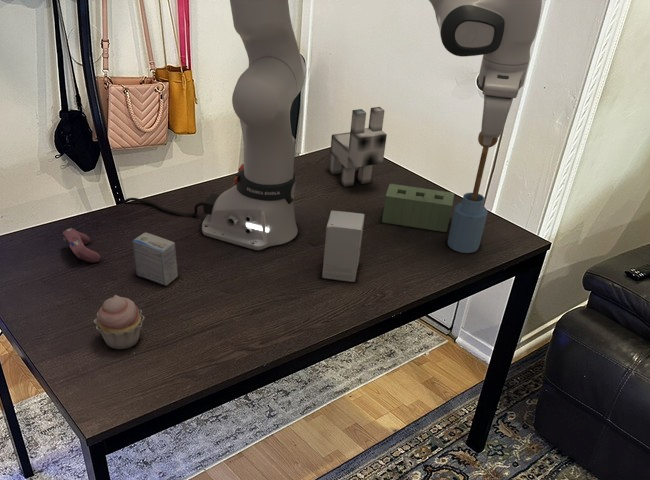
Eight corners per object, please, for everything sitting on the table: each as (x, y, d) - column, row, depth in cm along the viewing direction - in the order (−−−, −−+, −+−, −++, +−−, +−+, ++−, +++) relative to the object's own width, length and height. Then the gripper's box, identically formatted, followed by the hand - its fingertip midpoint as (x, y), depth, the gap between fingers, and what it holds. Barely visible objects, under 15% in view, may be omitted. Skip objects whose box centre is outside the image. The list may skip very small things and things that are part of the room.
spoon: (464, 202, 156) (480, 128, 145) (464, 199, 157) (480, 126, 146) (482, 204, 155) (500, 130, 144) (482, 202, 156) (500, 128, 145)
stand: (381, 222, 170) (385, 195, 166) (385, 209, 175) (389, 183, 171) (446, 232, 168) (452, 205, 163) (449, 219, 172) (454, 192, 168)
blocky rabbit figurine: (349, 163, 195) (356, 89, 182) (379, 190, 183) (389, 114, 170) (325, 166, 193) (330, 92, 180) (353, 194, 181) (361, 117, 168)
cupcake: (146, 322, 138) (141, 279, 131) (147, 352, 131) (142, 309, 124) (97, 326, 136) (90, 282, 130) (96, 356, 129) (88, 312, 123)
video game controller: (74, 250, 160) (55, 229, 154) (90, 239, 160) (72, 217, 154) (86, 272, 153) (67, 250, 148) (103, 260, 153) (84, 238, 148)
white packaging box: (355, 283, 150) (361, 230, 142) (321, 278, 151) (325, 225, 143) (359, 264, 156) (365, 213, 147) (326, 260, 157) (330, 208, 148)
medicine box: (178, 277, 150) (175, 241, 144) (165, 287, 147) (162, 251, 141) (149, 266, 153) (145, 231, 147) (136, 275, 150) (131, 240, 144)
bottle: (446, 250, 161) (456, 202, 154) (448, 234, 167) (458, 187, 159) (477, 255, 160) (489, 207, 152) (479, 239, 165) (491, 192, 157)
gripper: (488, 56, 146) (474, 121, 155) (483, 88, 131) (468, 159, 140) (519, 59, 145) (503, 125, 154) (518, 92, 130) (500, 163, 139)
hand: (486, 141), depth 147 cm, fingers closed on spoon, 1 cm apart
